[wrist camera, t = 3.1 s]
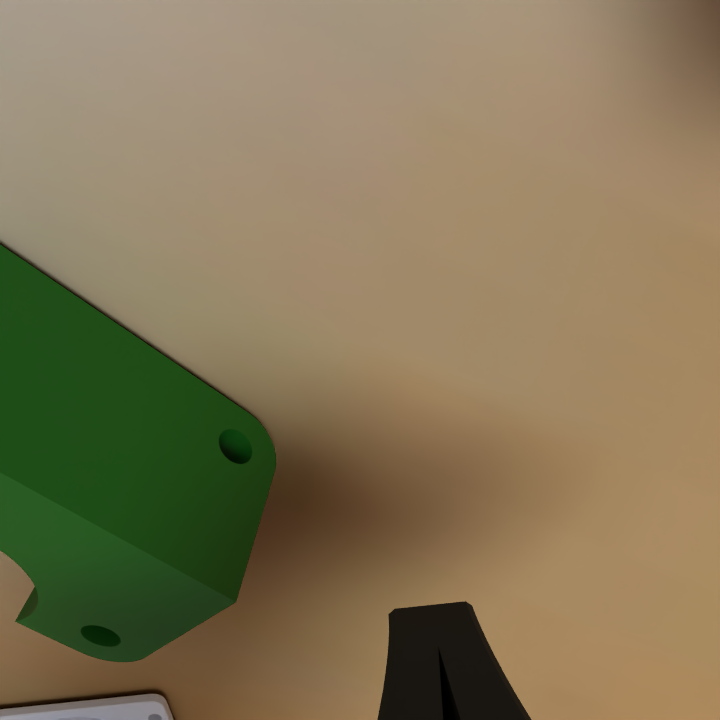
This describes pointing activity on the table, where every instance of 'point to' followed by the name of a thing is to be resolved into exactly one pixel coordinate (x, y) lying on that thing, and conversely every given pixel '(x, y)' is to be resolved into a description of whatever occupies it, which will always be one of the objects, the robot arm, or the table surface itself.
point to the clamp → (117, 476)
